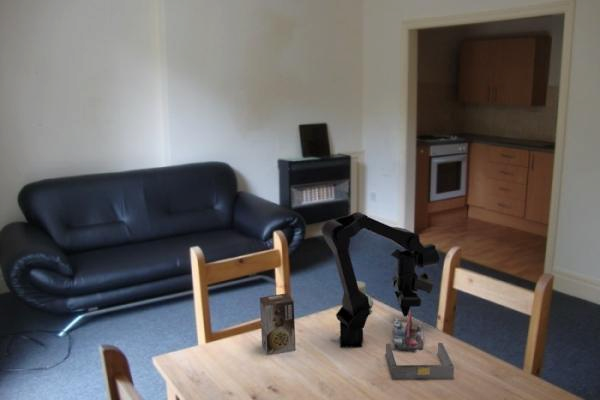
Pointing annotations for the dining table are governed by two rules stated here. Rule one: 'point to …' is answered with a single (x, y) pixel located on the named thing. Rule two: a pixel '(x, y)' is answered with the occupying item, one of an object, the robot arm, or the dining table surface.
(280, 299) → the coffee box
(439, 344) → the receiver
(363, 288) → the air freshener
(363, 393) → the dining table surface
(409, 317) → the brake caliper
